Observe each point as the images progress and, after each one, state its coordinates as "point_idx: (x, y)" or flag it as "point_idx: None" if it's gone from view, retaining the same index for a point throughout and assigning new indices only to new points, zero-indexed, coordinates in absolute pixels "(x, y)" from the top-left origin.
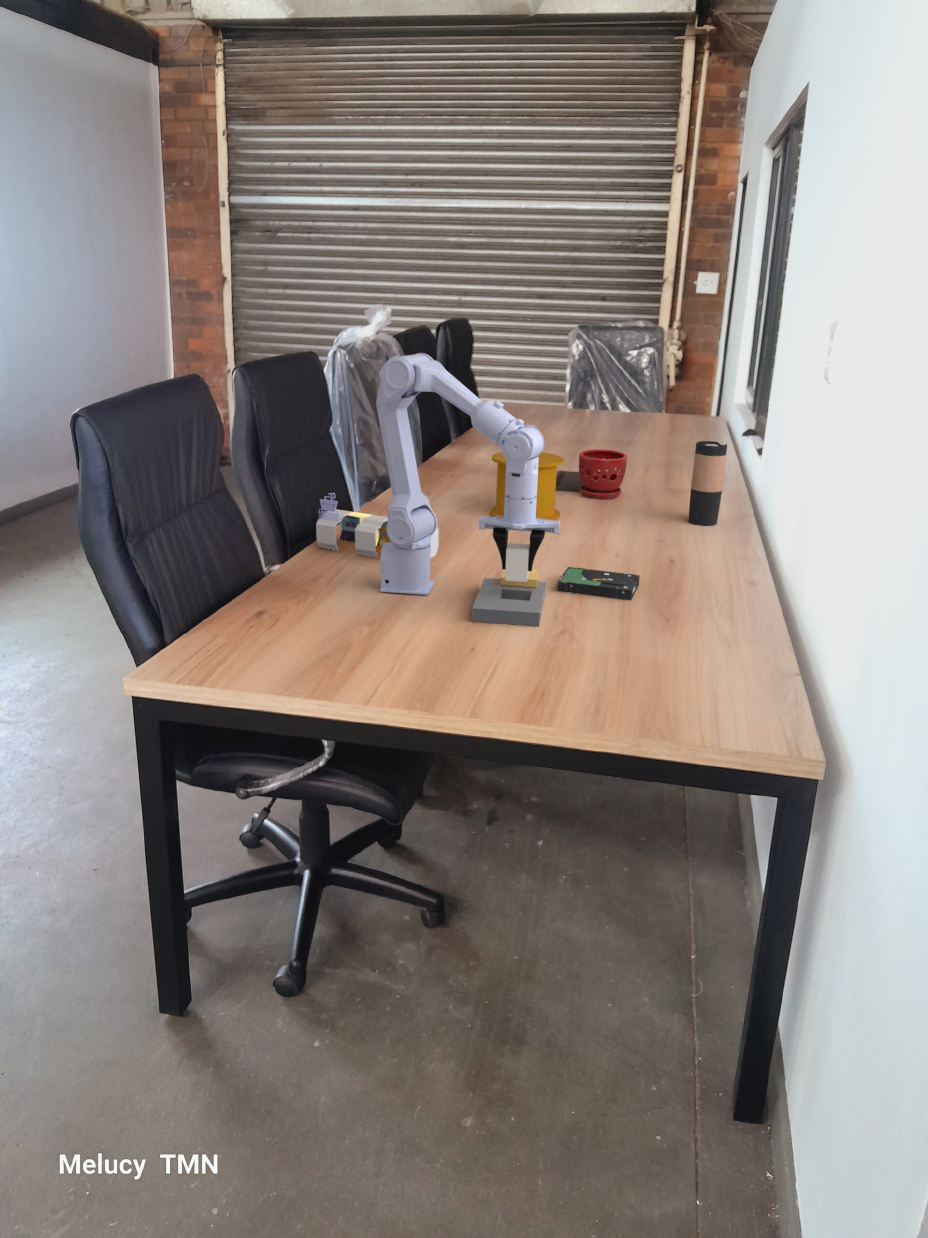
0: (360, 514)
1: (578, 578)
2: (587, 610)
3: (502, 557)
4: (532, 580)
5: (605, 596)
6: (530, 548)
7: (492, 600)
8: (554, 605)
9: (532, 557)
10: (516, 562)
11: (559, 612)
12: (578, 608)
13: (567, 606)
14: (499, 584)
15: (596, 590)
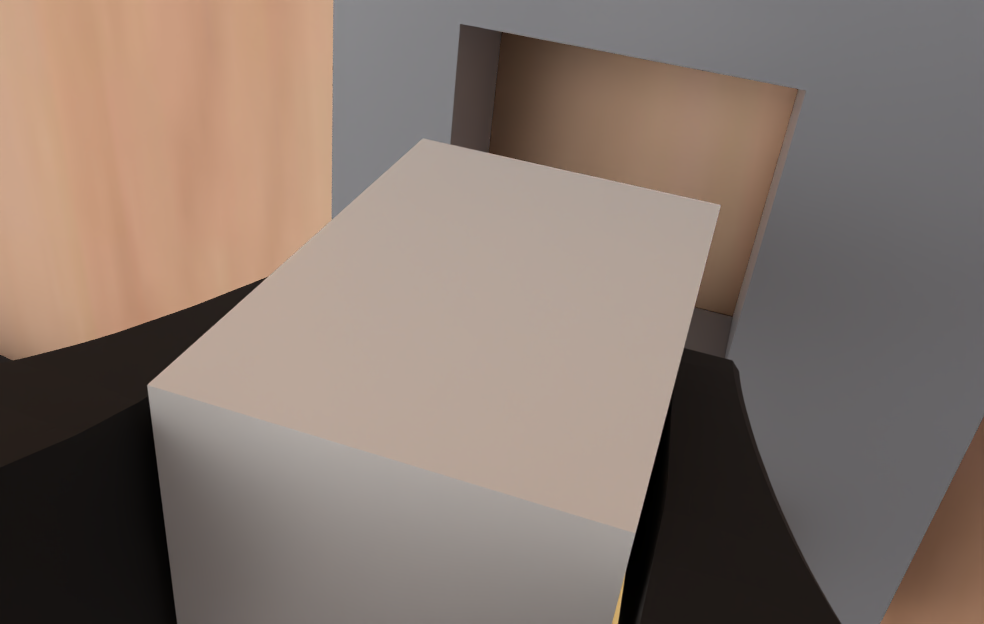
0: None
1: None
2: (57, 98)
3: (735, 460)
4: None
5: (1, 359)
6: (94, 412)
7: (918, 17)
8: (297, 215)
9: (181, 327)
10: (485, 299)
11: (247, 44)
12: (123, 144)
13: (203, 190)
14: None
15: None
